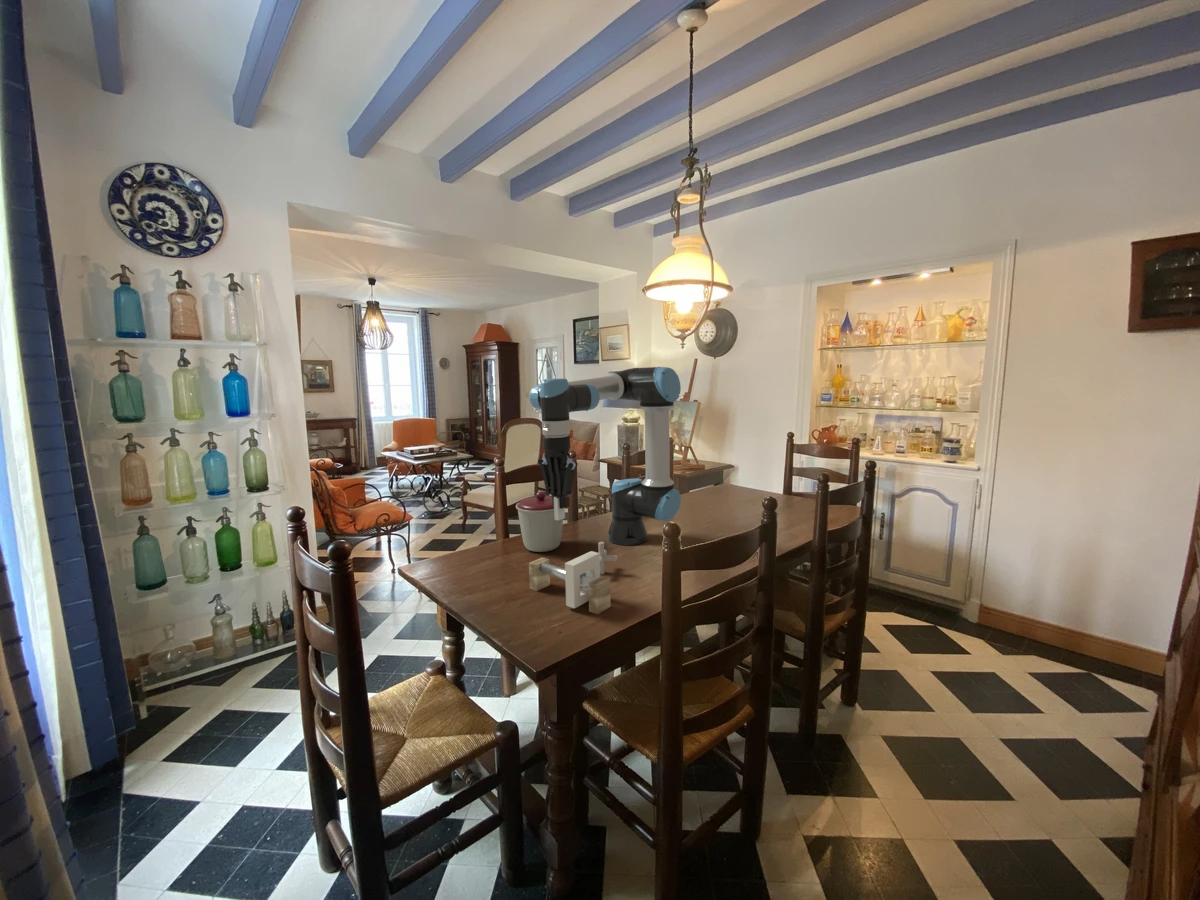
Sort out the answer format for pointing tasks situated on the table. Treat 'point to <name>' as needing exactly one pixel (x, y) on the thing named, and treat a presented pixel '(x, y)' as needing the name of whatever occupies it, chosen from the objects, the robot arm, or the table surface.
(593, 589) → the rod support stand
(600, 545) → the pipe connector
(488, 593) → the table surface
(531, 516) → the canister
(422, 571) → the table surface
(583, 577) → the steel rod
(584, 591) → the collar
